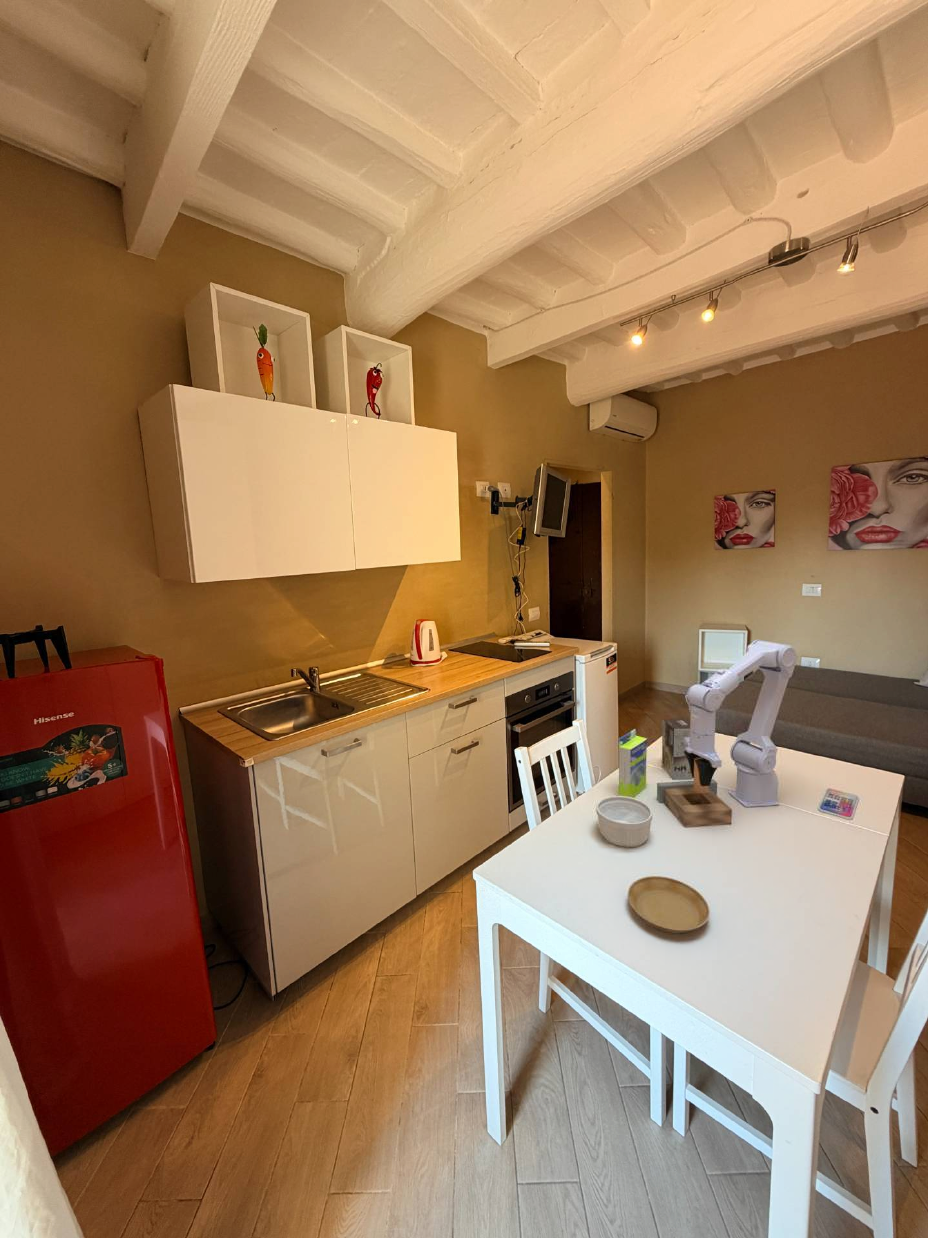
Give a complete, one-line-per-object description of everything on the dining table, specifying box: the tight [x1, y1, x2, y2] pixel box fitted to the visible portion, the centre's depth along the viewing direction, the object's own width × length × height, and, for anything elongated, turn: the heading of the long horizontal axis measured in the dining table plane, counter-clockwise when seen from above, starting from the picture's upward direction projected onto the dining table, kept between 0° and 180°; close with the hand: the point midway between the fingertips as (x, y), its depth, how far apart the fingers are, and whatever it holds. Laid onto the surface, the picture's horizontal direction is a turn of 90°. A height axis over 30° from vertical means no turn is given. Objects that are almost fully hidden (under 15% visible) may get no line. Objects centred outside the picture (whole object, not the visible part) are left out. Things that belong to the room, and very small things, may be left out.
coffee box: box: [661, 717, 694, 780], centre depth 152 cm, size 9×6×16 cm
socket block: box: [663, 787, 733, 828], centre depth 130 cm, size 12×12×4 cm
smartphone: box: [817, 788, 860, 821], centre depth 131 cm, size 7×1×15 cm
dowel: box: [693, 757, 709, 792], centre depth 127 cm, size 4×4×8 cm
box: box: [618, 728, 648, 798], centre depth 141 cm, size 10×4×17 cm, turn 135°
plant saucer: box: [627, 875, 711, 934], centre depth 96 cm, size 15×15×3 cm
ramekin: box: [595, 795, 653, 848], centre depth 122 cm, size 13×13×7 cm
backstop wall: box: [656, 778, 718, 804], centre depth 136 cm, size 16×2×5 cm, turn 92°
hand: (700, 781), depth 128 cm, fingers closed on dowel, 3 cm apart
